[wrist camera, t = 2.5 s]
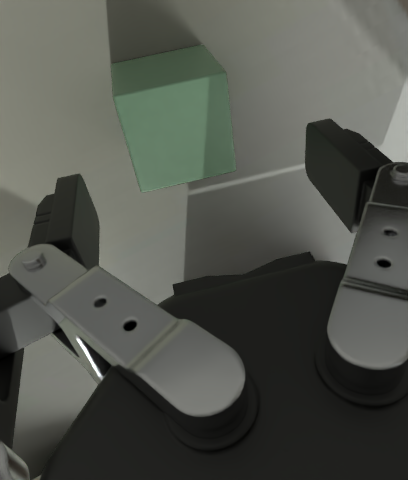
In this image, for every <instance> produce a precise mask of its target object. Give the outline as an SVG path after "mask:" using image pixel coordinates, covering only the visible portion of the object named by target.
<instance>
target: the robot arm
mask: <svg viewBox="0 0 408 480" xmlns="http://www.w3.org/2000/svg"><path fill="white" fill-rule="evenodd" d="M305 168H306V173H307V176H308V178H309V180H310V181H311V182H312V184H313V185H314V186H315V187H316V189H317V190H318V191H319V192H320V194H321V195H322V196H323V198H324V199H325V200H326V201H327V203H328V204H329V205H330V207H331V208H332V209H333V210H334V212H335V213H336V214H337V215H338V217H339V218H340V219H341V221H342V222H343V223H344V224H345V226H346V227H347V228H348V230H349V231H350V232H351V233H354V232H357V234H356V237H355V241H354V244H353V247H352V251H351V254H350V257H349V261H348V264H347V265H345V264H341V263H337V262H330V261H315V260H314V258H313V256H312V255H311V253H310V252H305V253H301V254H297V255H293V256H289V257H285V258H280V259H276V260H274V261H272V262H270V263H268V264H266V265H264V266H261V267H259V268H257V269H255V270H253V271H251V272H249V273H246V274H242V275H223V276H206V277H202V278H197V279H193V280H189V281H185V282H181V283H177V284H173V290H174V295H173V296H171V297H169V298H167V299H166V300H164V301H162V302H161V303H160V304H158V305H156V304H154V303H153V302H151V301H150V300H149V299H147V298H146V297H144V296H143V295H141V294H140V293H138V292H137V291H135V290H134V289H132V288H131V287H129V286H128V285H126V284H125V283H123V282H122V281H120V280H119V279H117V278H116V277H114V276H113V275H111V274H110V273H108V272H107V271H105V270H104V269H103V268H101V267H99V230H100V226H99V220H98V216H97V212H96V210H95V207H94V204H93V202H92V199H91V197H90V194H89V192H88V189H87V187H86V184H85V182H84V180H83V177H82V176H81V174H75V175H70V176H66V177H61V178H58V179H57V183H56V189H55V194H51V195H47V196H46V197H45V198H44V199H43V200H42V201H41V203H40V204H39V205H38V208H37V212H36V217H35V220H34V225H33V228H32V233H31V237H30V241H29V245H28V248H27V249H25V250H23V251H21V252H20V253H19V254H17V255H16V256H15V257H14V258H13V259H12V261H11V262H10V265H9V273H8V274H7V275H5V276H3V277H1V278H0V480H30V477H29V470H28V467H27V465H26V463H25V462H24V461H23V460H22V459H21V458H20V457H19V456H18V455H16V454H15V453H14V452H13V451H12V444H13V436H14V428H15V420H16V412H17V403H18V395H19V387H20V379H21V370H22V362H23V354H24V347H25V346H27V345H29V344H31V343H33V342H35V341H37V340H39V339H41V338H43V337H45V336H47V335H49V334H50V335H51V336H52V337H53V338H54V339H55V340H56V341H57V342H58V343H59V344H60V345H62V346H63V347H64V348H65V349H66V350H67V351H68V352H69V353H70V354H71V355H72V356H73V357H74V358H75V359H76V360H77V361H78V362H79V363H80V364H81V365H82V366H83V367H84V368H85V369H86V370H87V371H88V372H89V374H90V375H91V376H92V378H93V379H94V380H95V381H96V382H97V384H98V386H97V388H96V389H95V391H94V392H93V394H92V395H91V397H90V398H89V400H88V401H87V403H86V404H85V406H84V407H83V409H82V410H81V412H80V413H79V415H78V416H77V418H76V419H75V420H74V422H73V423H72V425H71V426H70V428H69V429H68V431H67V432H66V434H65V435H64V437H63V438H62V440H61V441H60V443H59V444H58V446H57V447H56V449H55V450H54V452H53V453H52V455H51V457H50V458H49V460H48V462H47V463H46V465H45V467H44V470H43V472H42V474H41V477H40V480H408V163H406V162H394V163H393V162H392V161H391V160H390V159H389V158H388V157H386V156H385V155H384V154H383V153H382V152H380V151H379V150H378V149H377V148H374V146H373V145H372V144H371V143H370V142H368V141H367V140H366V139H365V138H364V137H363V136H361V135H360V134H359V133H356V132H353V131H351V130H348V129H344V130H343V129H342V128H341V127H340V126H339V125H337V124H336V123H335V122H334V121H333V120H332V119H325V120H320V121H316V122H311V123H308V125H307V128H306V149H305Z"/></svg>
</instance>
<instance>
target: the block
mask: <svg viewBox="0 0 408 480" xmlns="http://www.w3.org/2000/svg"><path fill="white" fill-rule="evenodd" d="M111 74H112V91H113V100H114V103H115V106H116V110H117V113H118V116H119V120H120V123H121V127H122V130H123V133H124V137H125V140H126V143H127V147H128V150H129V154H130V157H131V160H132V164H133V167H134V170H135V174H136V177H137V181H138V184H139V187H140V191H141V192H142V193H144V192H148V191H152V190H156V189H161V188H165V187H169V186H174V185H178V184H182V183H186V182H191V181H195V180H199V179H204V178H208V177H212V176H216V175H221V174H225V173H229V172H234V171H236V162H235V152H234V143H233V133H232V123H231V113H230V103H229V94H228V84H227V74H226V71H225V70H224V69H223V68H222V67H221V65H220V64H219V63H218V62H217V61H216V59H215V58H214V57H213V56H212V54H211V53H210V52H209V51H208V50H207V48H206V47H205V46H204V45H198V46H193V47H189V48H184V49H179V50H175V51H170V52H165V53H160V54H156V55H151V56H146V57H141V58H137V59H132V60H127V61H123V62H118V63H113V64H111Z"/></svg>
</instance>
